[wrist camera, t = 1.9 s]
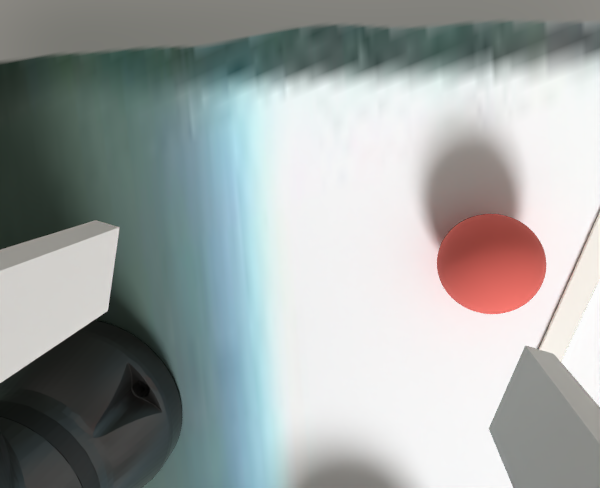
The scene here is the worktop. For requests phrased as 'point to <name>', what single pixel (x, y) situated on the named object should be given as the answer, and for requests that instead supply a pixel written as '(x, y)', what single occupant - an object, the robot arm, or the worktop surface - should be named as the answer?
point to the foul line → (575, 297)
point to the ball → (491, 263)
